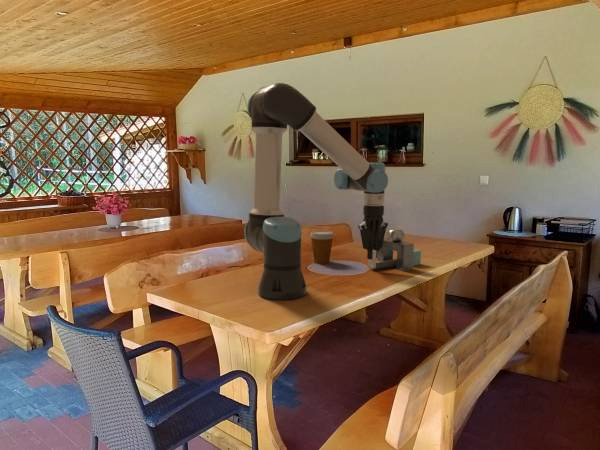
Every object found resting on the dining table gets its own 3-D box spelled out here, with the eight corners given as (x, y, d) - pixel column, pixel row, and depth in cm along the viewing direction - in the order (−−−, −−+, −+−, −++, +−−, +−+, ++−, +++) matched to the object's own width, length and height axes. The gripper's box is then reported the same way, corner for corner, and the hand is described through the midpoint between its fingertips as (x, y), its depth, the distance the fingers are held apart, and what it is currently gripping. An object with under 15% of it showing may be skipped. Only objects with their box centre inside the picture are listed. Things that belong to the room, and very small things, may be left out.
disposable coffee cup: (331, 264, 193) (332, 234, 191) (308, 263, 195) (308, 233, 193) (335, 259, 202) (335, 230, 200) (312, 258, 204) (312, 230, 202)
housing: (403, 271, 183) (404, 233, 180) (377, 263, 195) (378, 227, 193) (412, 269, 185) (414, 231, 183) (386, 262, 197) (387, 226, 195)
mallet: (378, 271, 182) (378, 257, 181) (368, 268, 187) (368, 254, 186) (420, 264, 194) (420, 250, 193) (410, 261, 198) (410, 248, 197)
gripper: (366, 206, 174) (365, 271, 177) (393, 204, 181) (391, 267, 184) (353, 204, 180) (352, 267, 183) (380, 202, 187) (378, 263, 190)
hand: (372, 267), depth 184 cm, fingers closed
